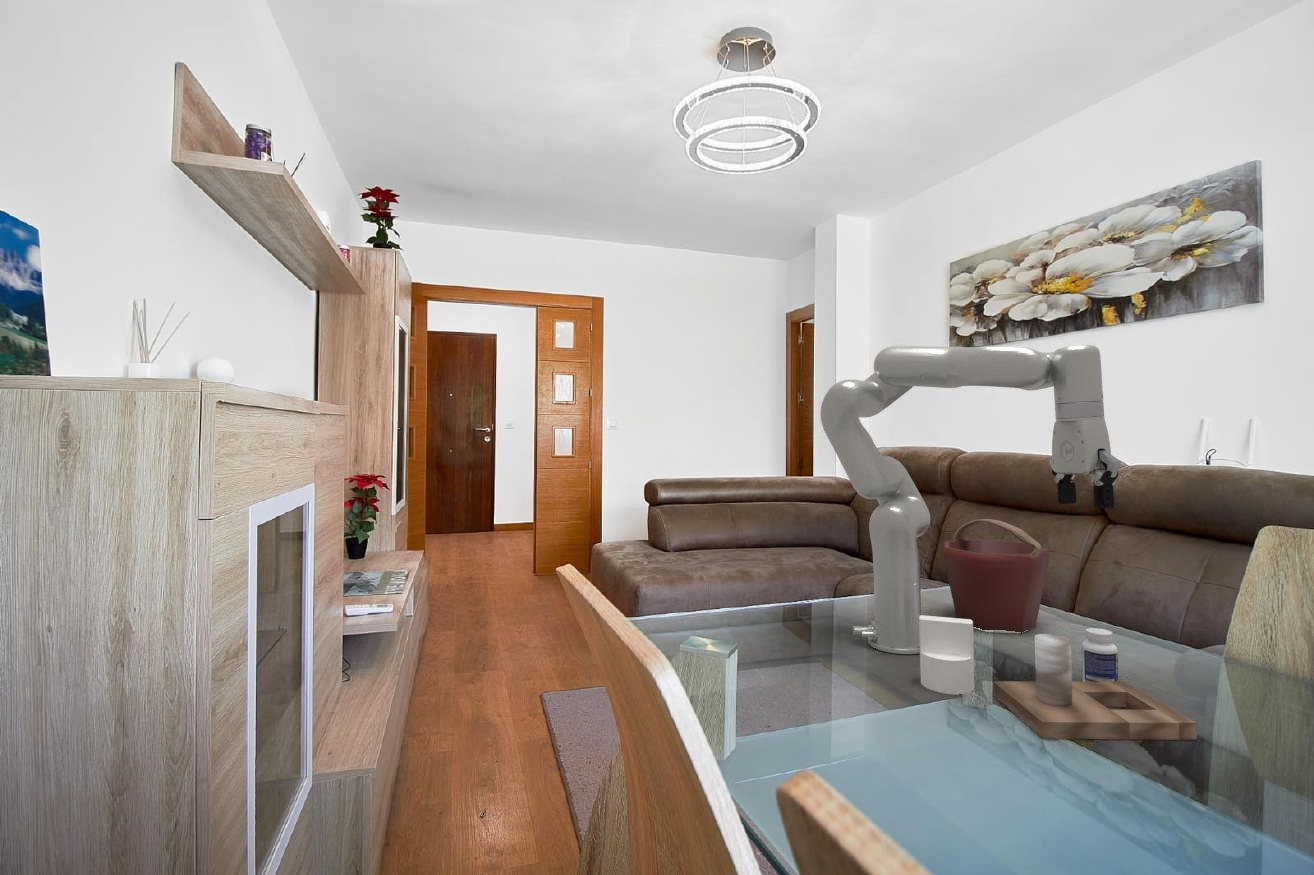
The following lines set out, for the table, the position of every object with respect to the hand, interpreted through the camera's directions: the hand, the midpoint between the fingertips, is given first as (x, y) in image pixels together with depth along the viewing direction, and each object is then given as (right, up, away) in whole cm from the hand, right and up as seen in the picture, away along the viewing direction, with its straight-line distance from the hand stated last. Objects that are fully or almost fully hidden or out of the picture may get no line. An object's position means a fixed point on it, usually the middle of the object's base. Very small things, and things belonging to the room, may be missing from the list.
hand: (1085, 505), depth 117 cm
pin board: (-9, -32, -14) cm, 37 cm away
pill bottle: (+1, -32, -2) cm, 33 cm away
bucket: (+2, -33, +36) cm, 49 cm away
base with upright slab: (-26, -33, 0) cm, 42 cm away
